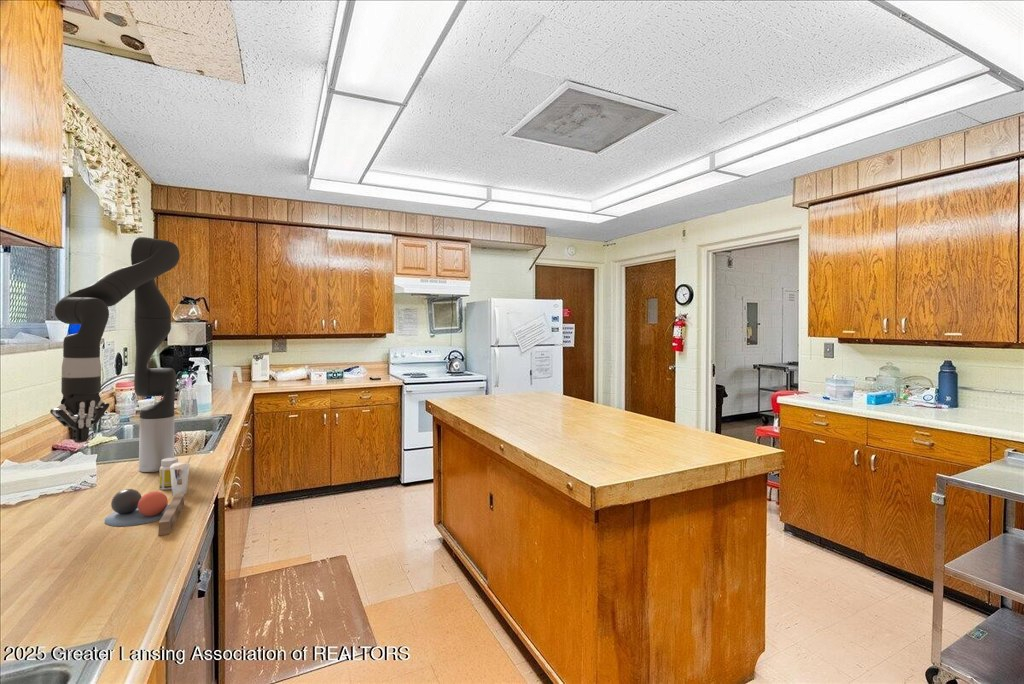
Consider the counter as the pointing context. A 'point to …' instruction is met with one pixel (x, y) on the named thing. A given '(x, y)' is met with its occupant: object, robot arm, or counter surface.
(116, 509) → the dark gray ball
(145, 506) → the red ball
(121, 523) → the blue-grey flat disc
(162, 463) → the supplement bottle
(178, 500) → the stopper rail
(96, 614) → the counter surface
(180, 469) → the milkshake
